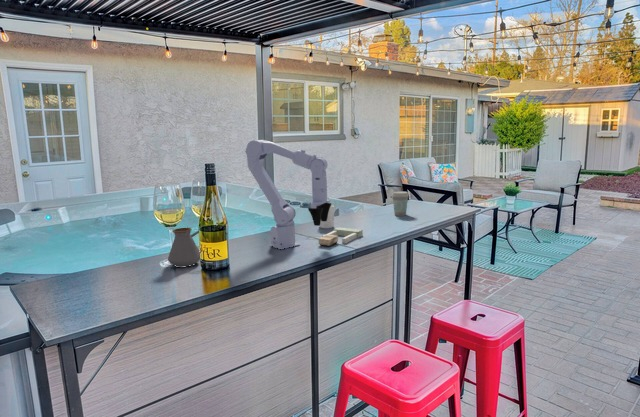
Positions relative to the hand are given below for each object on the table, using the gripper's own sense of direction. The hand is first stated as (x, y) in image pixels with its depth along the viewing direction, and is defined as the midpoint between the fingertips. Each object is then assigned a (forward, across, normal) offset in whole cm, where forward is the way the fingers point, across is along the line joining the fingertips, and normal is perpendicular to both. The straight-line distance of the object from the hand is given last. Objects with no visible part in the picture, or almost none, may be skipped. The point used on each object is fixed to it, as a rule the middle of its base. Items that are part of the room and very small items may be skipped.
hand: (320, 223), depth 168 cm
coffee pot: (+10, -29, +37) cm, 48 cm away
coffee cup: (+10, +67, -19) cm, 70 cm away
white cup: (+10, +33, +10) cm, 36 cm away
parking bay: (+9, +15, -4) cm, 18 cm away
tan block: (+10, +4, -2) cm, 10 cm away
